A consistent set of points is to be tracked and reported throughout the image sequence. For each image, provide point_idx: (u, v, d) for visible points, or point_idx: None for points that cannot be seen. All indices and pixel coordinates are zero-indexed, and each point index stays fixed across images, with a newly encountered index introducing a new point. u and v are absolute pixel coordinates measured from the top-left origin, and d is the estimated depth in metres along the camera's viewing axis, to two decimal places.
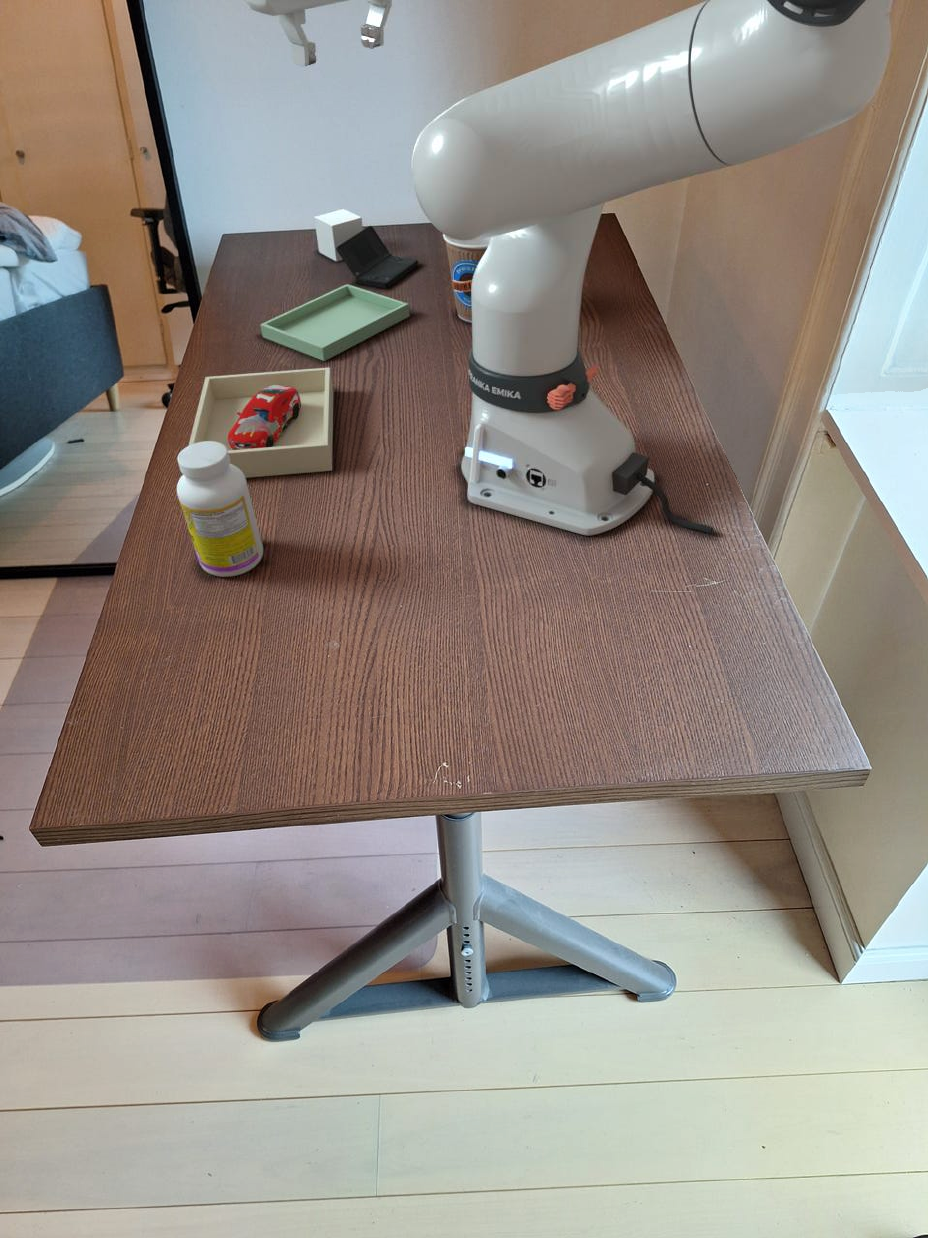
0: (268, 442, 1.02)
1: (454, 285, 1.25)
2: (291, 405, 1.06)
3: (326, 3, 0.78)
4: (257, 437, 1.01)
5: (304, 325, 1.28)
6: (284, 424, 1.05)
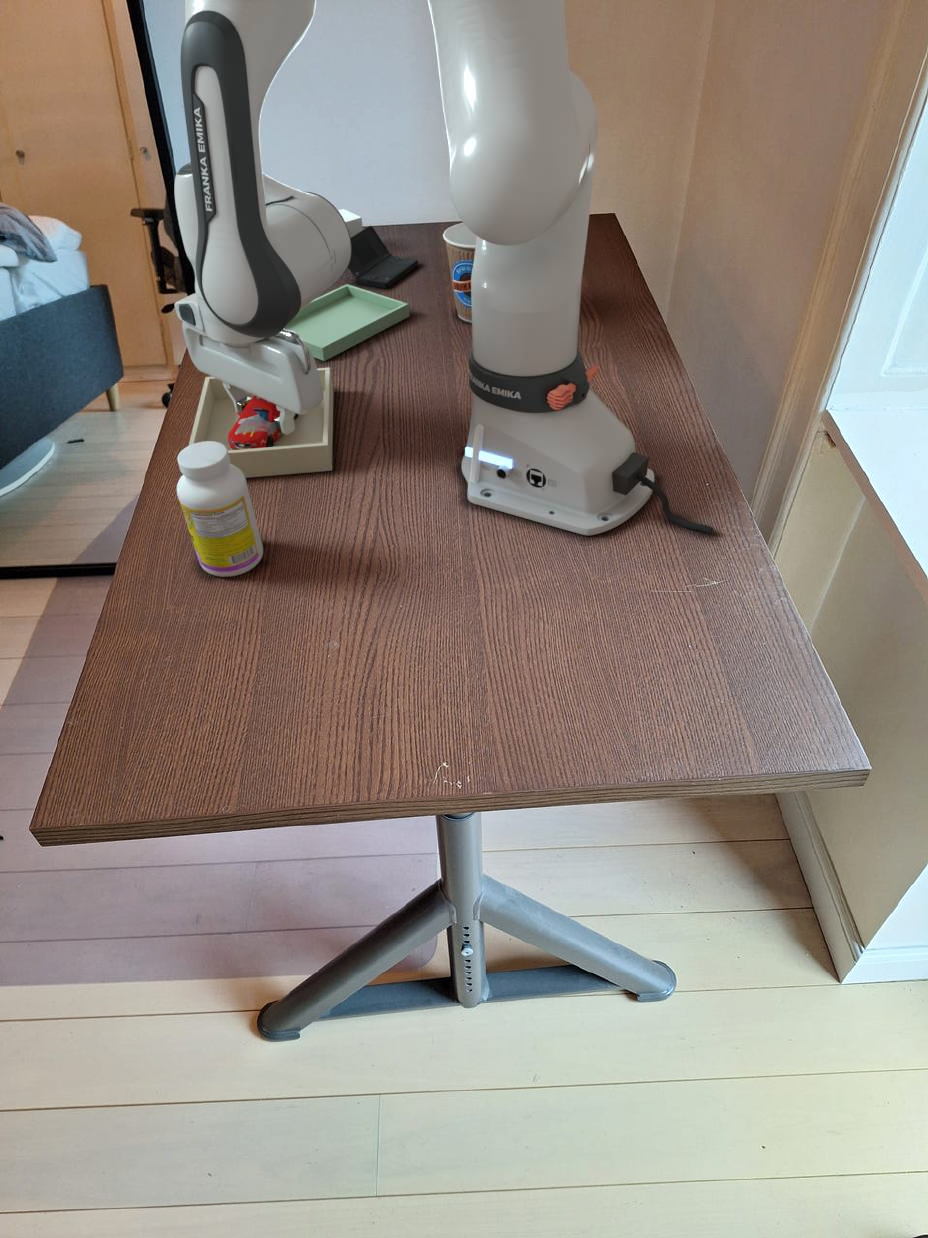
0: (268, 442, 1.02)
1: (454, 285, 1.25)
2: None
3: None
4: (257, 437, 1.01)
5: (304, 325, 1.28)
6: None
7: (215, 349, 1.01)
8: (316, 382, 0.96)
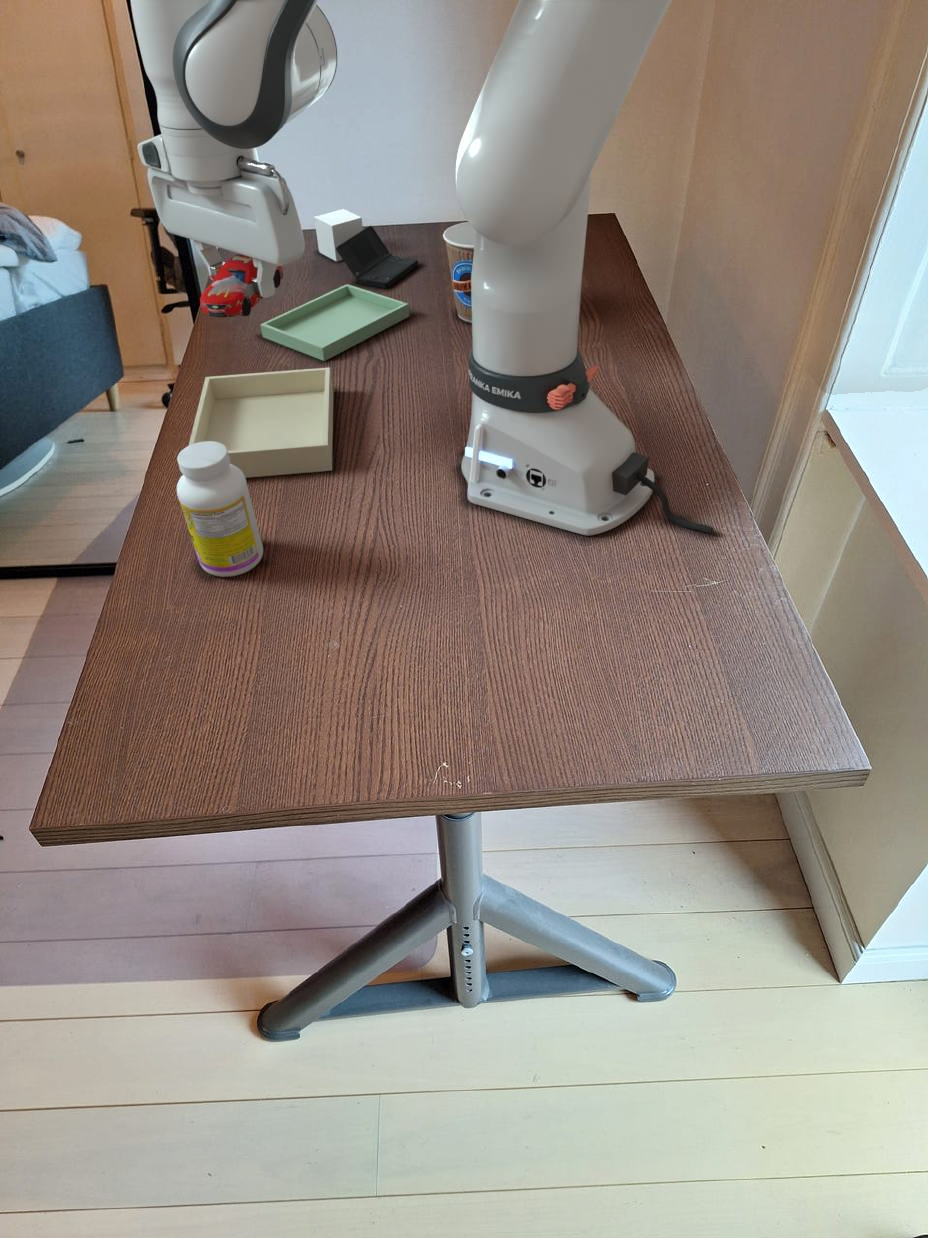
0: (245, 304, 0.91)
1: (454, 285, 1.25)
2: None
3: None
4: (232, 297, 0.90)
5: (304, 325, 1.28)
6: None
7: (184, 200, 0.90)
8: (296, 226, 0.85)
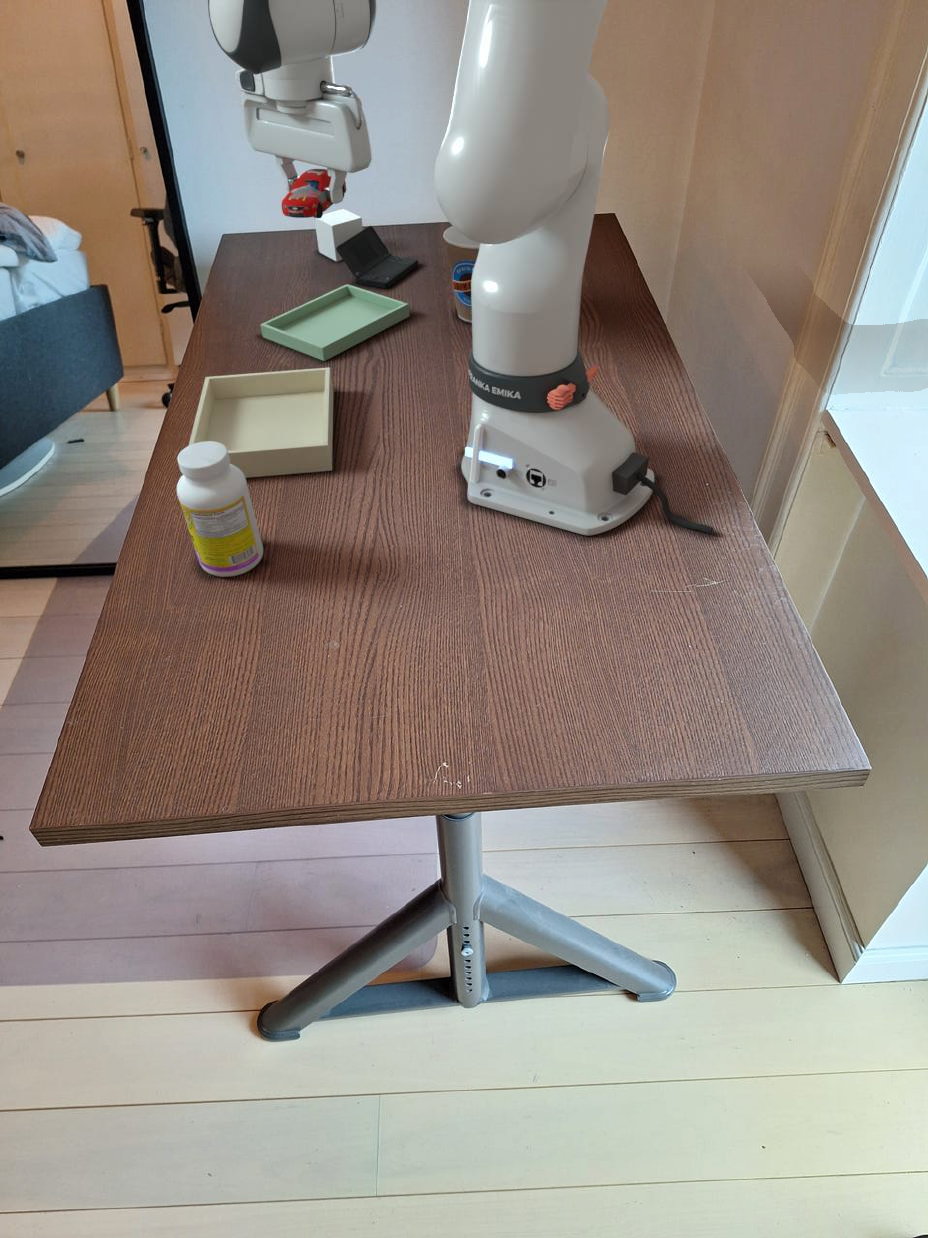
0: (318, 208, 1.11)
1: (454, 285, 1.25)
2: None
3: None
4: (309, 201, 1.10)
5: (304, 325, 1.28)
6: None
7: (271, 120, 1.10)
8: (366, 140, 1.05)
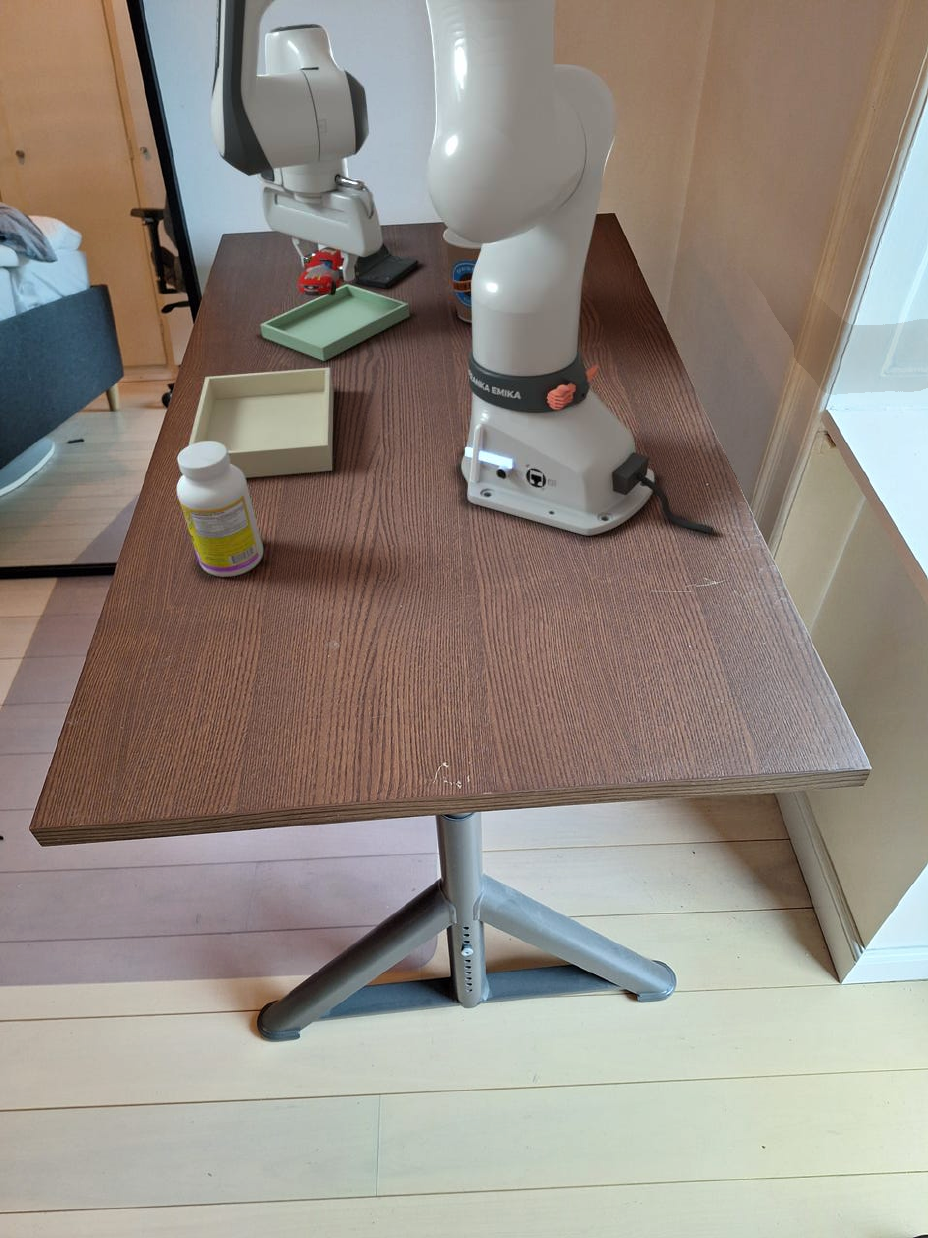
0: (332, 286, 1.19)
1: (454, 285, 1.25)
2: None
3: None
4: (323, 280, 1.18)
5: (304, 325, 1.28)
6: None
7: (288, 206, 1.18)
8: (377, 227, 1.13)
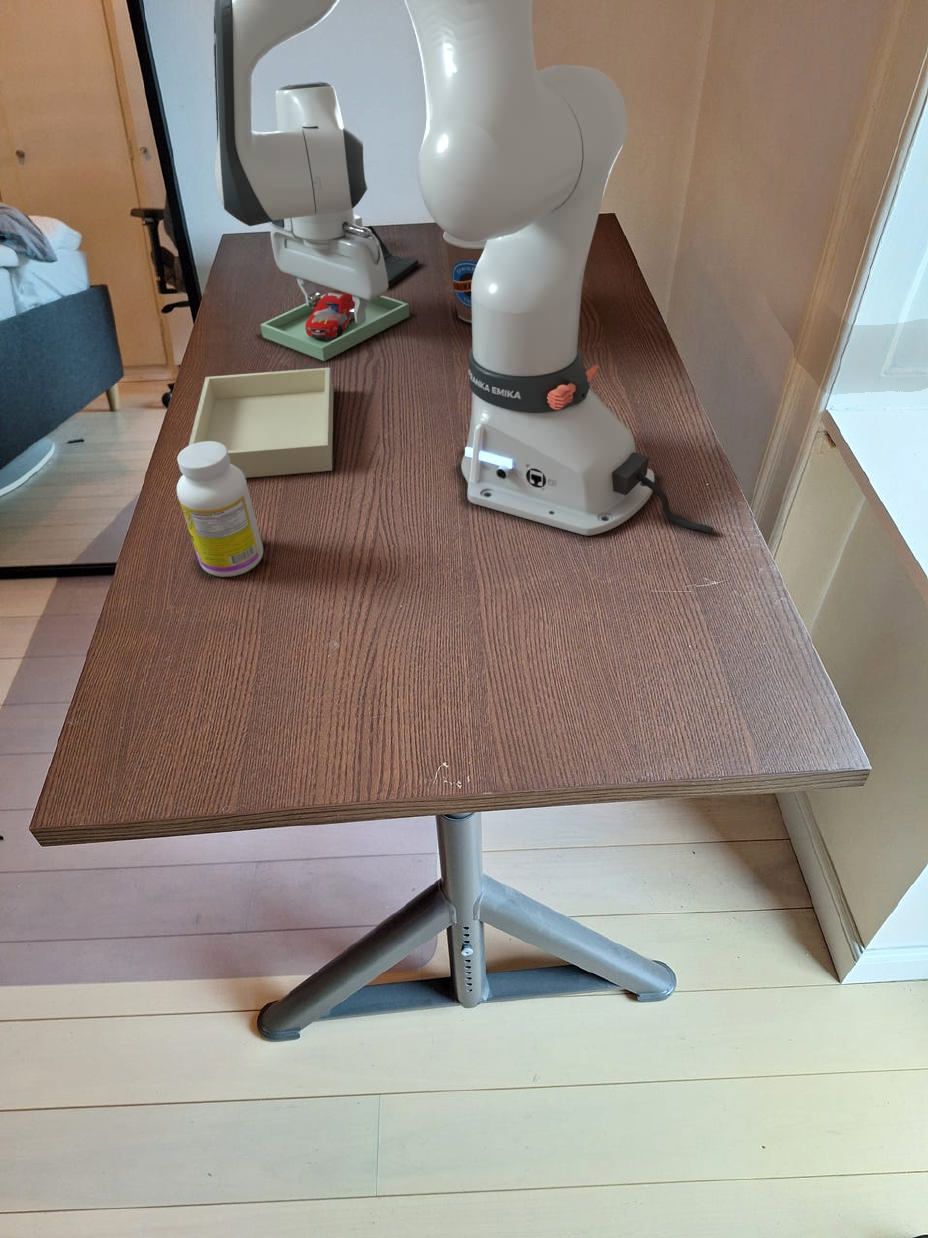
0: (338, 329, 1.24)
1: (454, 285, 1.25)
2: (355, 303, 1.28)
3: None
4: (330, 324, 1.23)
5: (304, 325, 1.28)
6: (350, 317, 1.27)
7: (298, 250, 1.23)
8: (383, 272, 1.18)
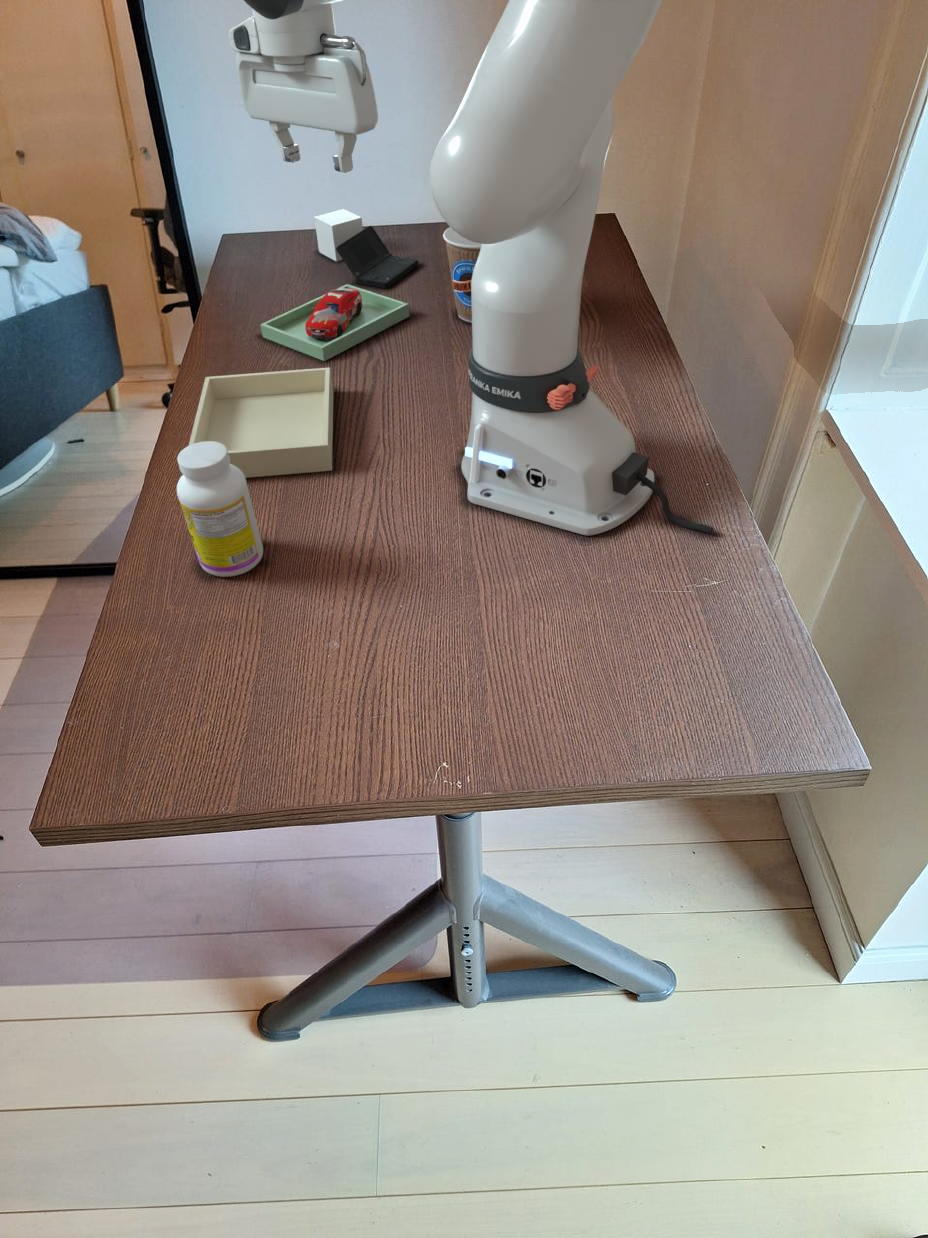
0: (338, 329, 1.24)
1: (454, 285, 1.25)
2: (355, 303, 1.28)
3: None
4: (330, 324, 1.23)
5: (304, 325, 1.28)
6: (350, 317, 1.27)
7: (268, 83, 1.01)
8: (371, 97, 0.96)
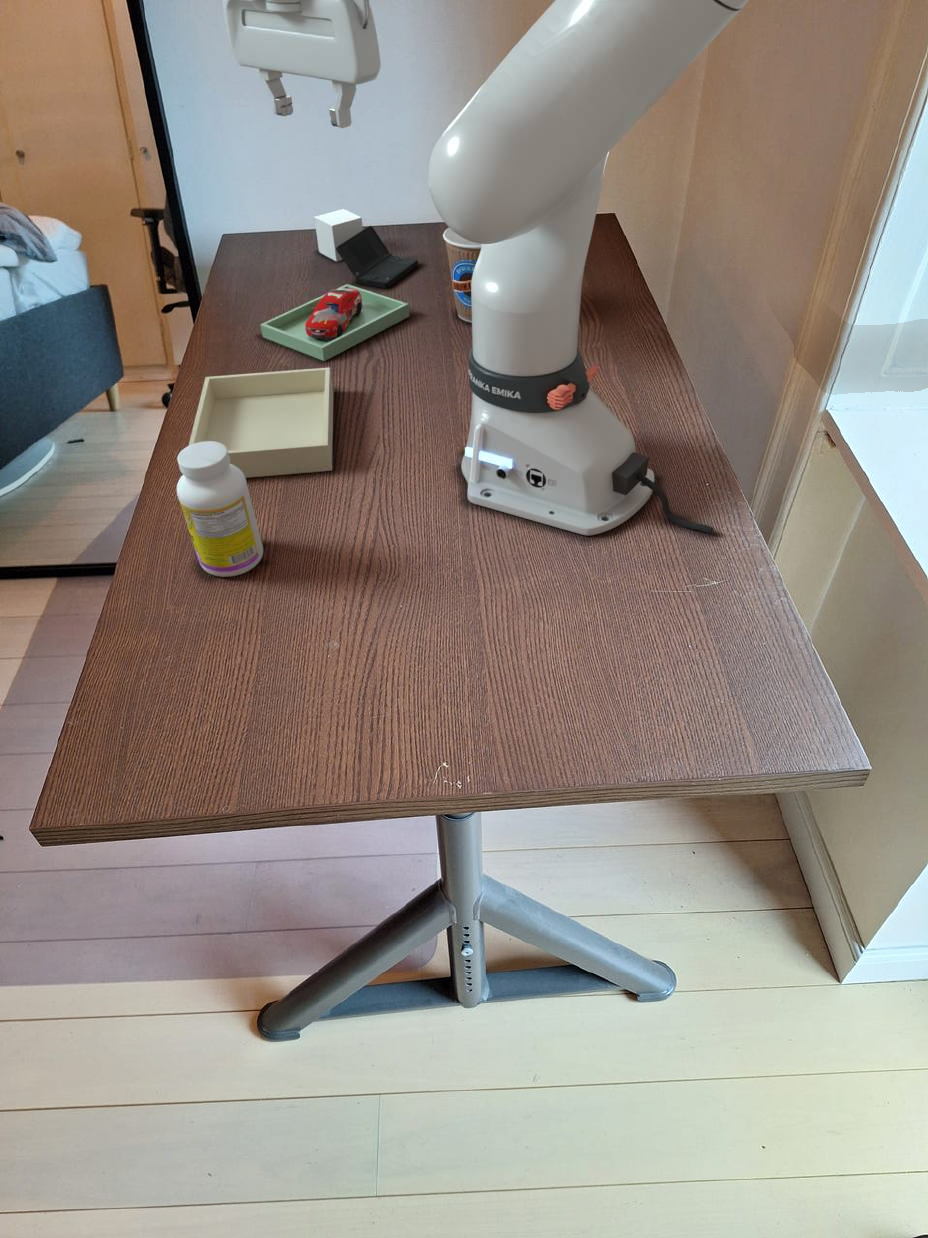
0: (338, 329, 1.24)
1: (454, 285, 1.25)
2: (355, 303, 1.28)
3: None
4: (330, 324, 1.23)
5: (304, 325, 1.28)
6: (350, 317, 1.27)
7: (259, 25, 0.91)
8: (373, 43, 0.86)
